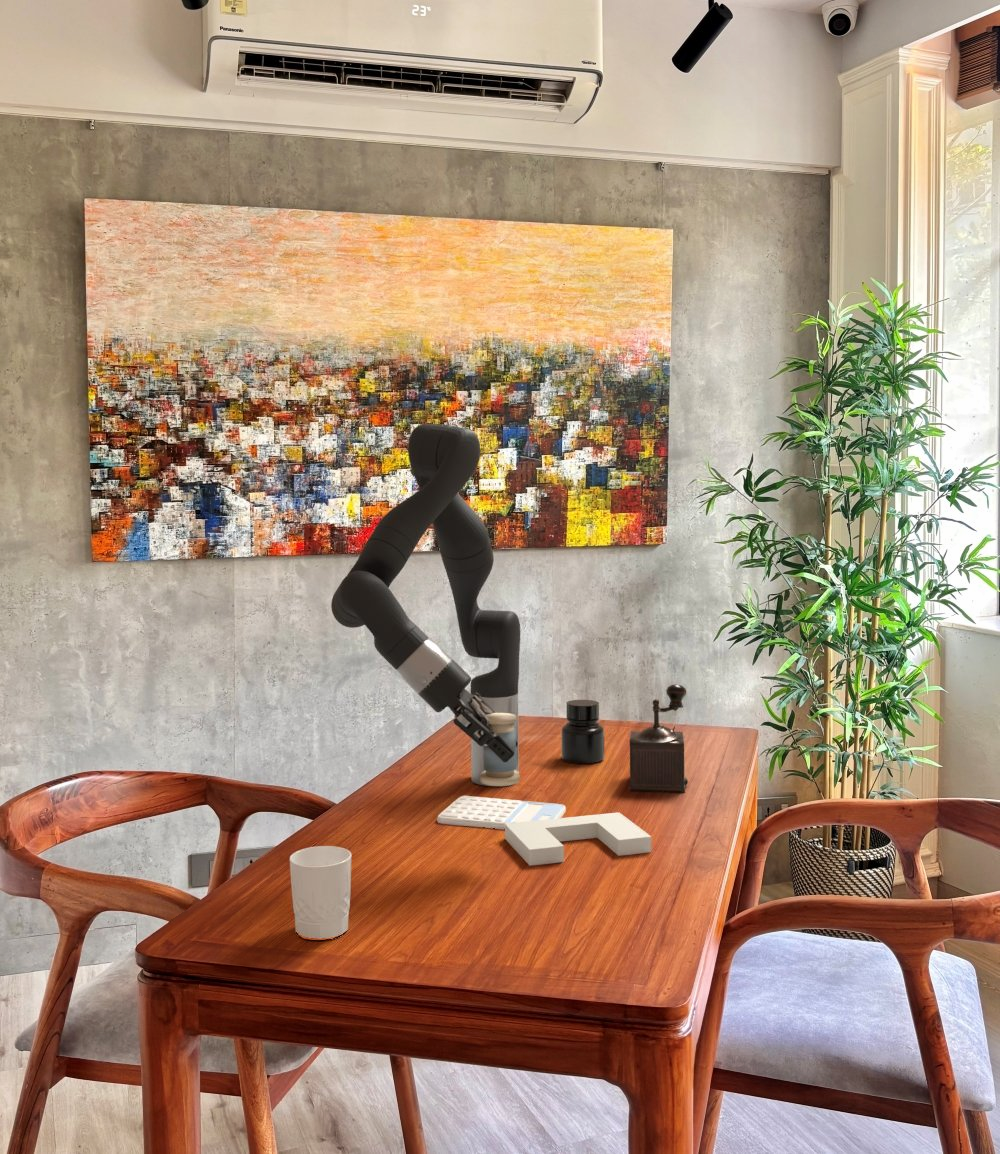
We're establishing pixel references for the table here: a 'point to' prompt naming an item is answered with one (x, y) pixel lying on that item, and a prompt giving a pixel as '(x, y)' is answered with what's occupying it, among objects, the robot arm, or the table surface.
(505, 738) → the disc
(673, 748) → the manual coffee grinder
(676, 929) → the table surface
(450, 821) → the calculator
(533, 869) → the table surface
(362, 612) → the robot arm
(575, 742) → the ink bottle
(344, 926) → the white cup
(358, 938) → the table surface
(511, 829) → the notched board
